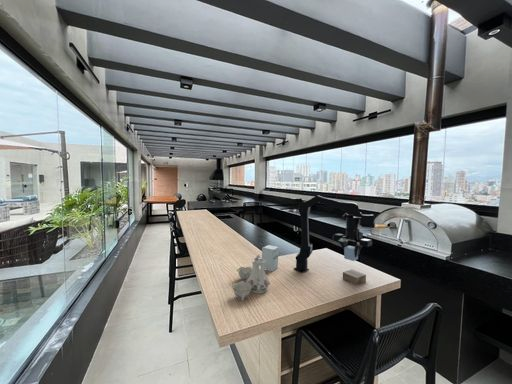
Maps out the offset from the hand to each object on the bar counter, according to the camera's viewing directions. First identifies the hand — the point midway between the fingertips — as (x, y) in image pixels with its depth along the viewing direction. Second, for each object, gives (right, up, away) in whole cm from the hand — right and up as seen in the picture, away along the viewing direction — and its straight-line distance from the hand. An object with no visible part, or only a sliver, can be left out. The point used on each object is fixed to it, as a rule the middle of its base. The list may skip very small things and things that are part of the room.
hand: (351, 255), depth 114 cm
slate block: (0, -2, 0) cm, 2 cm away
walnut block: (+1, -13, -1) cm, 13 cm away
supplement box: (-42, -11, +11) cm, 45 cm away
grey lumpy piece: (-53, -12, -13) cm, 56 cm away
